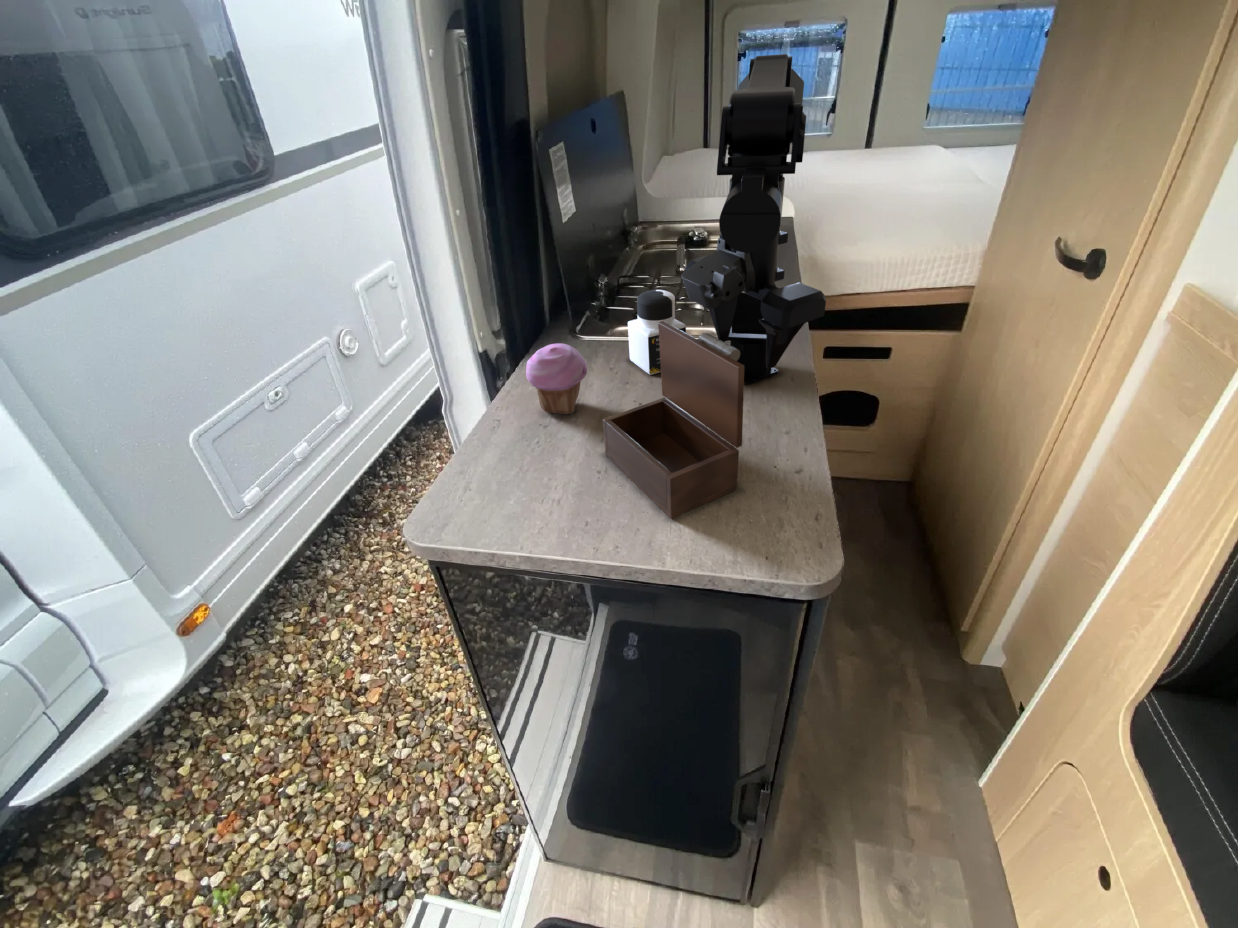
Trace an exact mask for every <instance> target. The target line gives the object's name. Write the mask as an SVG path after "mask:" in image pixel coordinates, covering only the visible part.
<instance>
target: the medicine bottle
mask: <svg viewBox="0 0 1238 928" xmlns="http://www.w3.org/2000/svg"><path fill="white" fill-rule="evenodd" d="M675 300H676V297H675V295H674V293H672V292H670V291H667V290H664V289H650V290H646V291H644V292H641V293H640V294H639V295H638V296H637V297H636V311H637V318H636V319H632V320H629V321H627V333H628V334H627V335H628V336H627V337H628V349H629V351H628V352H629V353H628V354H629V360H630V361H631V362H632V363H634V364H635V365H636V366H637V367H639V368H640V369H641V370H642V371H644V372H645V373H646V374H647V375H649V376H652V375H655V374H660V373H661V363H660V346H659V329H658V322H661V321H665V322H666V323H668V324H670V325H672V326H674V327H675V328H677V329H679V330H681V331H683V332H684V333H686V334H687V325H686V324H685V323H683V322H681V321H680V320H677V319H676V302H675Z"/></svg>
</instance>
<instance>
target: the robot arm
mask: <svg viewBox="0 0 1238 928" xmlns="http://www.w3.org/2000/svg"><path fill="white" fill-rule="evenodd" d="M792 67H793V56H792V55H791V56H789V55H788V54H787V53H781V54H767V55H765V54H764V55H756V56H755V57H754V58H750V60H749V68H748V73H747V75H746V76H745V77H744V78H743V79H742V81H740V83H739V84H738V86H737V89H735V90H734V91H733V92H732V93H731V94H730V96H729V102H728V105H723V106H722V110H721V120H720V132H719V140H718V141H719V142H718V150H717V151H718V153H717V164H716V176H731V177H730V179H729V187H728V188H729V190H728V194H727V196H726V199H725V201H724V204H723V207H722V210H721V211H720V214H719V219H718V220H719V221H718V226H719V232H720V233H719V236H718V237H719V238H717V241H716V249H715V250H716V251H714V252H712V253H711V254H707V255H703V256H701V257H697V258H693V259H690V260H689V262H688V264H687V265H686V267H685V268H684V271H683V272H682V273H681V275H680V276H681V280H682V283H683V286H684V289H685V291H686V294H687V295H686V296H687V298H688V300H689V301H690V302H692V303H694V302H695V303H697V304H698V305H700V306H702V307H703V308H704V309H707V310H709V314H710V317H711V320H712V323H713V327H714V330H715V333H716V336H717V337H716V338H717V339H719V340H721V341H723V342H725V343H726V342H730V343H729V345H731V346H733V347H734V348H736V349H738V350H739V351H740V357H739V359H738V360H737V362H739V363H740V364H742V365H744V384H746V385H750V384H753V383H756V382H758V381H761V380H764V379H766V378H770V377H772V376H775V375H778V374H779V369H778V368H775V367H776V366H777V365H778V363H779V361H780V360H781V358H782V357H783V355H784V354H785V352H786V350H787V349H788V347H789V346H790V344H791V342H792V341H793V340H794V338H795V336H796V335H797V334H798V333H799V331H800V330H801V329H802V328H803V326H804V325H805V324H806V323H809V322H810V323H811V322H813V321H814V320H816V319H819V318H823V317H824V316H825V312H826V305H827V296H826V295H825V294H824V292H823V291H822V290H821V289H817V288H815V287H812V286H810V285H807V284H805V283H801V282H795V283H793V284H789V285H785V286H782V287H778V286H777V285H778V284H777V283H776V282H779V281H782V280H784V279H785V269H782V268H779V267H778V263H779V262H778V260H779V249H780V245H783V244H787V243H788V241H789V240H788V239H789V232H786V231H783V230H781V227H782V218H783V217H782V215H783V205H784V193H785V182H786V178H785V176H784V175H795V174H796V167H797V164H799V163H803V159H804V158H803V157H804V150H805V149H804V148H805V136H806V125H807V114H806V113H805V112H804V110H803V109H804V105H803V101H804V92H805V91H804V90H805V80H803V78H802V77H800V75H799V74H798V73H797V72H796V71H795V70H794V69H793V68H792ZM790 150H791V153H790ZM789 154H790V161H788V155H789ZM727 156H728V157H727ZM726 160H727V162H726Z"/></svg>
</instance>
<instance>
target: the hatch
mask: <svg viewBox="0 0 1238 928" xmlns="http://www.w3.org/2000/svg"><path fill="white" fill-rule="evenodd" d="M658 329H659V346H660V363H661V372H660V376H661V377H660V379H661V394H662V396H663V397H665V398H666V399H667V400H669V401H670V402H672V403H673V404H675V405H676V406H677V407H679V408H680V409H682V410H683V411H684V412H686V413H687V414H688V415H690V416H691V417H693V418H694V419H695V420H697V421H698V422H700V423H701V424H702V425H704V426H705V427H707V428H708V429H709V430H711V431H712V432H714V433H715V434H716V435H718V436H719V437H721V438H722V439H723V440H725V441H726V442H728V443H729V444H730V445H732V446H733V447H734V448H736V449H738V448H740V447H743V425H744V421H743V420H744V419H743V418H744V397H745V396H744V395H745V394H744V393H745V392H744V391H745V383H744V365H742V364H740V363H739V362H737V360H738V359H739V357H740V351H739V350H738V349H736V348H734V347H733V346H731V345H730V343H729V344H728V343H727V342H726V341H725V342H723V341H721V340H719V339H718V337H715V336H714V335H712V334H710V333H708V332H702V333H701V334H700V335H699V337H698V338H696V337H694V336H692V335H690V334H688V333H687V332H686V333H684V332H683V331H681V330H679V329H677V328H675V327H674V326H672V325H670V324H668V323H666V322H665V321H661V322H658Z"/></svg>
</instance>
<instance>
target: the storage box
mask: <svg viewBox="0 0 1238 928" xmlns="http://www.w3.org/2000/svg"><path fill="white" fill-rule="evenodd" d="M602 429H603V441H604V451H605V457H606V458H607V459H608V460H609V461H610V462H612V464H614V466H616V467H617V469H619V471H621V472H622V473H623V474H624V475H625V476H626V477H627V478H628V479H629V480H630V481H631V482H632V483H633V484H634V485H635V486H637V488H638V489H640V490H641V492H642V493H644V494H645V495H646V496H647V498H649V499H650V500H651V501H652V502H653V503H654V504H655V505H656V506H657V507H658V508H659V509H660V510H662V512H663V513H665V515H666V516H667V517H668V518H670V519H674V518H677V517H679V516H681V515H683V514H685V513H687V512H690V511H692V510H695V509H697V508H699V507H701V506H703V505H705V504H708V503H710V502H712V501H714V500H717V499H719V498H722V497H724V496H726V495H728V494H730V493H732V492H736V491H737V489H738V473H739V457H740V450H739V449H738V448H736V447H735V446H733V445H732V444H730V443H729V442H728V441H726V440H725V439H723V438H722V437H721V436H719V435H718V434H716V433H715V432H714V431H712V430H711V429H709V428H708V427H707V426H705V425H704V424H702V423H701V422H700V421H698V420H697V419H695V418H694V417H693V416H691V415H690V414H688V413H687V412H686V411H684V410H683V409H681V408H680V407H679V406H677V405H676V404H674V403H673V402H672V401H670V400H669V399H667V398H666V397H665V396H663V397H662V398H659V399H656V400H653V401H650V402H647V403H644V404H642V405H639V406H635V407H633V408H629V409H627V410H624V411H622V412H619V413H616V414H614V415H613V414H612V415H610V416H608V417H605V418H602Z"/></svg>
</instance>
